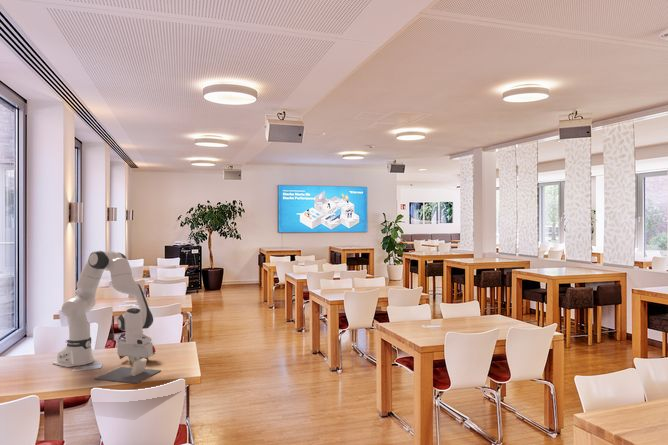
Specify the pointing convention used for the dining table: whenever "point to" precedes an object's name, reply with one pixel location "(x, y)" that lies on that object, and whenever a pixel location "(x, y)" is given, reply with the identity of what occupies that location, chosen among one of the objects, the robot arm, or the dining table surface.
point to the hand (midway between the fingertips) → (135, 364)
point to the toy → (140, 357)
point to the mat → (127, 375)
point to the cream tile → (138, 367)
